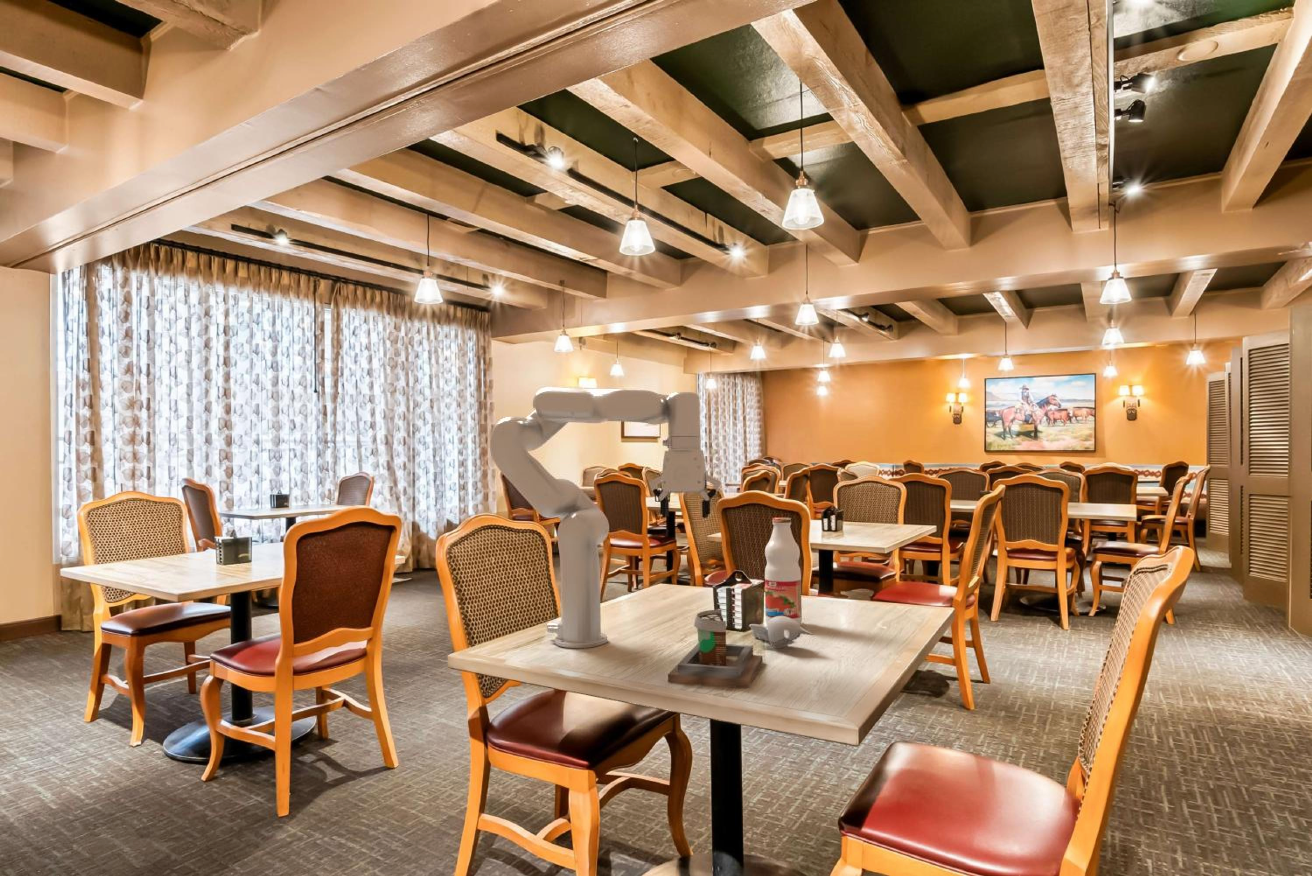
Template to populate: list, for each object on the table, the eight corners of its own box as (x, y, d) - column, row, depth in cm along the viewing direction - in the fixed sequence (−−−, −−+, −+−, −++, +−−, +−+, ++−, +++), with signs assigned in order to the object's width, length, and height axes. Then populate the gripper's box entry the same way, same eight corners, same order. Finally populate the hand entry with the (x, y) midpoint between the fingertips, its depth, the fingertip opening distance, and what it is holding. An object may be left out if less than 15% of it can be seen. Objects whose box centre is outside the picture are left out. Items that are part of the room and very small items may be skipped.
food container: (693, 656, 157) (692, 609, 157) (722, 655, 157) (721, 609, 157) (695, 672, 145) (695, 622, 145) (726, 672, 145) (725, 621, 145)
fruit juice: (809, 624, 191) (807, 518, 192) (785, 630, 185) (783, 520, 186) (781, 619, 198) (779, 516, 199) (758, 624, 192) (756, 518, 193)
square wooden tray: (667, 682, 144) (667, 664, 144) (690, 657, 161) (690, 641, 161) (748, 688, 139) (748, 669, 139) (762, 662, 156) (762, 646, 157)
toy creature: (780, 621, 182) (828, 625, 164) (774, 651, 180) (822, 658, 162) (737, 608, 178) (781, 610, 160) (730, 638, 176) (774, 644, 158)
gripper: (644, 445, 171) (645, 518, 170) (716, 443, 166) (717, 519, 165) (653, 445, 178) (654, 515, 177) (723, 444, 173) (724, 516, 172)
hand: (685, 517), depth 171 cm, fingers open, 9 cm apart
